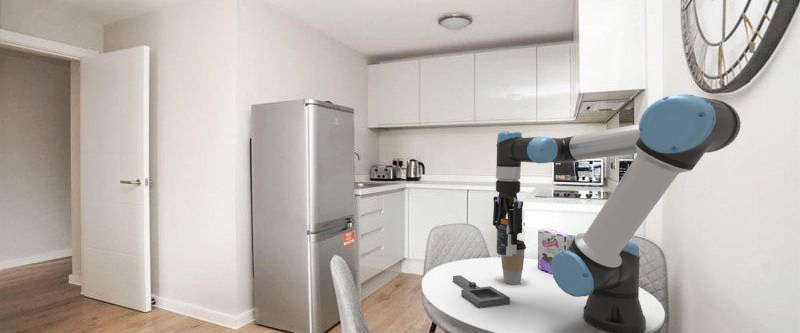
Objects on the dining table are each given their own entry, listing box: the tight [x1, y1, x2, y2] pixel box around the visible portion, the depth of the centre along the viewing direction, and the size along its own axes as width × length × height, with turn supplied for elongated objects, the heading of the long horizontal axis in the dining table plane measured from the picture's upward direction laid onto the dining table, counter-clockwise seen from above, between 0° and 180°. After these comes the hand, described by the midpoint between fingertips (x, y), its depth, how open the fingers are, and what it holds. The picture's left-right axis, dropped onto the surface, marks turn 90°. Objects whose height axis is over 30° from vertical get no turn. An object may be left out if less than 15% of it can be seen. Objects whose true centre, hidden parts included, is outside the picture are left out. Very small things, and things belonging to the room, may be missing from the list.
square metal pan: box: [452, 274, 511, 309], centre depth 128 cm, size 25×11×3 cm, turn 19°
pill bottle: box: [496, 218, 516, 256], centre depth 122 cm, size 6×6×11 cm
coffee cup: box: [500, 239, 527, 286], centre depth 139 cm, size 9×9×15 cm
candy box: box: [537, 228, 576, 275], centre depth 150 cm, size 14×6×16 cm, turn 25°
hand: (506, 251), depth 122 cm, fingers closed on pill bottle, 6 cm apart
